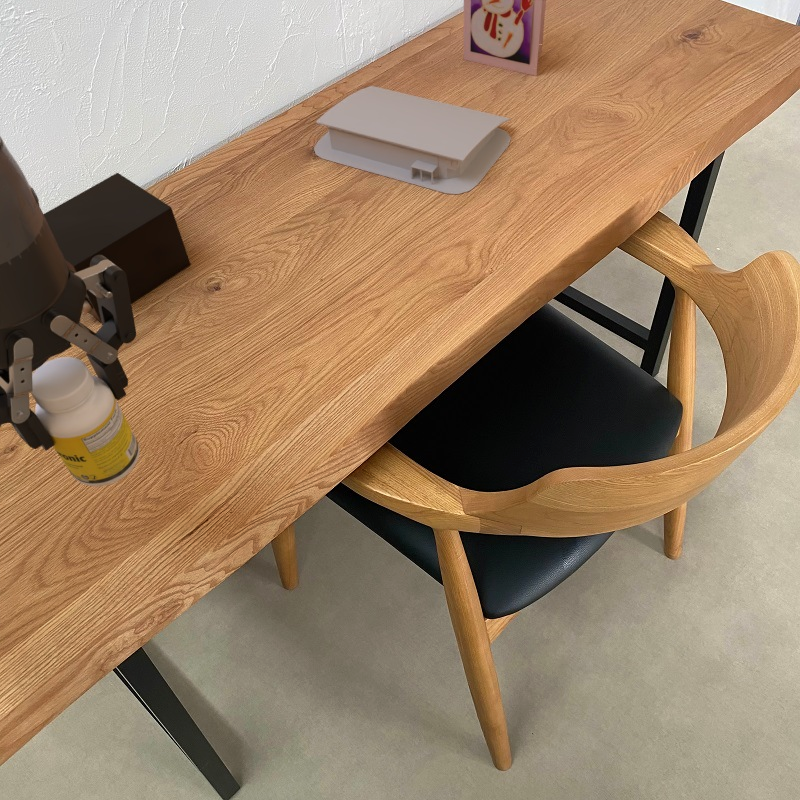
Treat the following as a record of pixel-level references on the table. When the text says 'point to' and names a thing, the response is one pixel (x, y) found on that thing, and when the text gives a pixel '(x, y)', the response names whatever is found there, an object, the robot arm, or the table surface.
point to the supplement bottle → (84, 422)
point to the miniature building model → (413, 139)
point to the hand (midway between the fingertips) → (80, 416)
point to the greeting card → (504, 33)
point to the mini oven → (120, 235)
